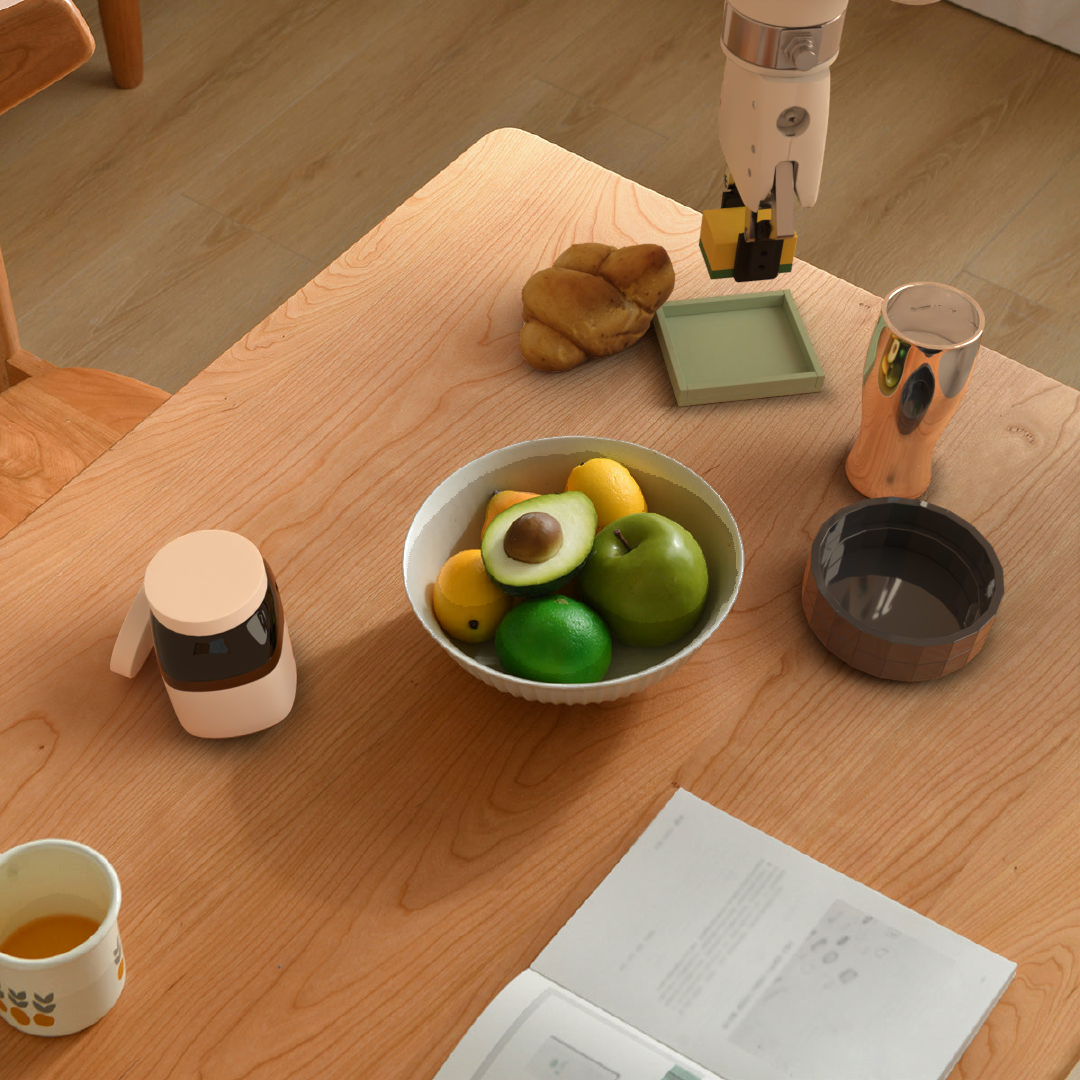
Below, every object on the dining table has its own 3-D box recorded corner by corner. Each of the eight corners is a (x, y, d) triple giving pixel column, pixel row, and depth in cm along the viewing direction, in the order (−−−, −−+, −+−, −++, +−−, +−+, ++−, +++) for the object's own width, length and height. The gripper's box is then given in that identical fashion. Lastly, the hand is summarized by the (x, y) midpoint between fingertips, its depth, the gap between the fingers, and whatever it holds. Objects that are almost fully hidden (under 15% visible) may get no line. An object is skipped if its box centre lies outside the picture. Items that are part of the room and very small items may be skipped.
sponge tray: (786, 305, 110) (789, 288, 109) (821, 391, 104) (825, 375, 102) (651, 318, 109) (652, 302, 108) (678, 407, 103) (680, 390, 101)
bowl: (949, 530, 95) (965, 487, 91) (1014, 674, 87) (1033, 632, 83) (780, 550, 94) (789, 507, 90) (829, 697, 86) (841, 656, 82)
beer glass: (830, 495, 97) (869, 336, 85) (848, 429, 101) (887, 269, 89) (928, 519, 95) (981, 360, 84) (942, 451, 100) (994, 291, 88)
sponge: (777, 238, 101) (783, 202, 98) (791, 272, 98) (798, 236, 96) (698, 245, 100) (702, 209, 98) (710, 280, 98) (715, 244, 95)
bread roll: (555, 403, 103) (556, 323, 97) (480, 335, 108) (476, 254, 102) (682, 333, 108) (691, 253, 102) (604, 272, 113) (608, 191, 107)
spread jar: (306, 744, 84) (278, 633, 75) (119, 776, 82) (68, 667, 73) (290, 592, 91) (262, 475, 82) (118, 620, 90) (72, 504, 81)
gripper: (880, 93, 80) (828, 328, 94) (804, -45, 91) (767, 185, 105) (757, 103, 79) (722, 338, 93) (694, -38, 90) (672, 193, 104)
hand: (746, 255), depth 99 cm, fingers closed on sponge, 4 cm apart
